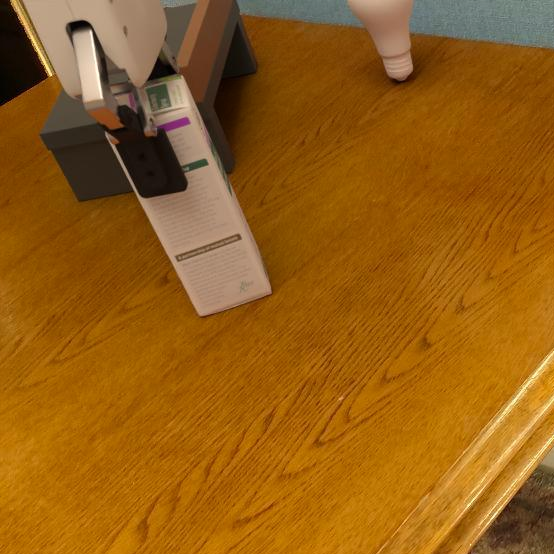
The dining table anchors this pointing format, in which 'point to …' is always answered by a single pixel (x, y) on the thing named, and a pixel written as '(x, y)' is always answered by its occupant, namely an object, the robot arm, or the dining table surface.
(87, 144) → the grey lidded gift box
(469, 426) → the dining table surface
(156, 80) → the syrup box
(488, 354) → the dining table surface
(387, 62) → the lightbulb
